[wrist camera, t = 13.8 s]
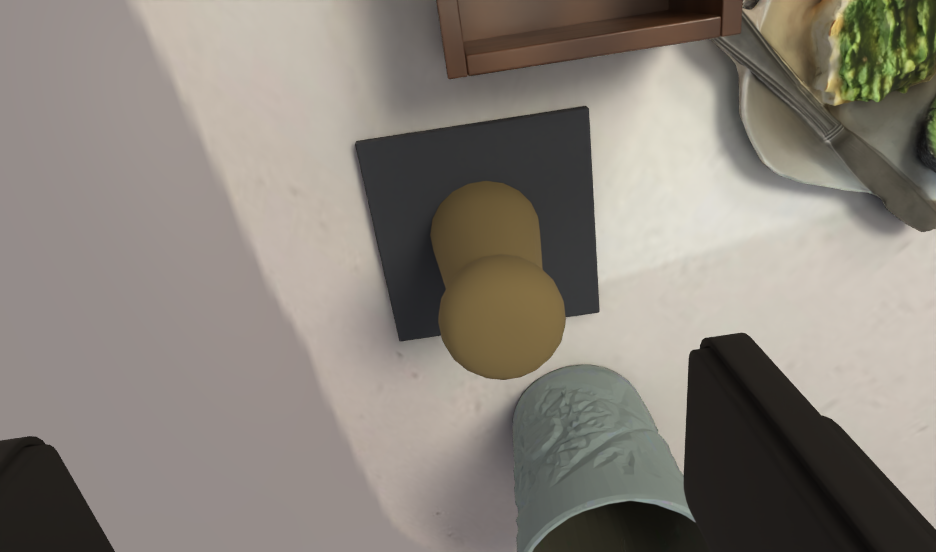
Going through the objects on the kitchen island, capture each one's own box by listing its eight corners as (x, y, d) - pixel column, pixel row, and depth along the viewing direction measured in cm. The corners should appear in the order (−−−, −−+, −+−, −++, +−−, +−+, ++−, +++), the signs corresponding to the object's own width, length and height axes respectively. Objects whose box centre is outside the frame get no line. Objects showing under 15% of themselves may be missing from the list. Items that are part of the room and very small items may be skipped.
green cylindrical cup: (645, 468, 42) (717, 636, 31) (501, 482, 42) (523, 655, 31) (652, 345, 38) (740, 490, 27) (491, 360, 37) (513, 512, 27)
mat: (399, 336, 36) (399, 342, 36) (356, 140, 31) (354, 143, 31) (597, 307, 36) (599, 312, 36) (586, 105, 31) (589, 107, 30)
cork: (451, 296, 35) (457, 420, 25) (414, 201, 32) (404, 298, 22) (552, 264, 34) (599, 378, 24) (523, 165, 32) (562, 247, 22)
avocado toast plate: (638, 172, 33) (667, 199, 28) (770, -238, 25) (835, -282, 21) (953, 230, 35) (1023, 263, 31) (1158, -129, 28) (1287, -150, 23)
